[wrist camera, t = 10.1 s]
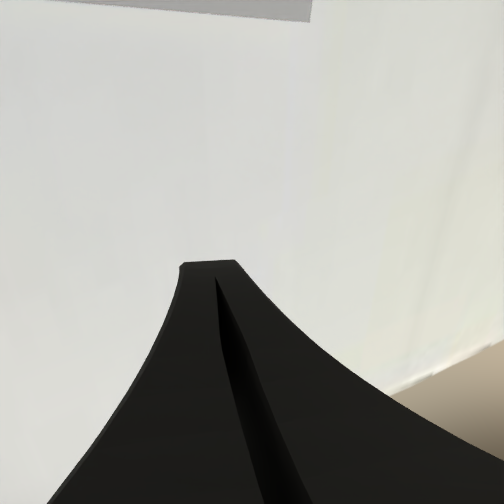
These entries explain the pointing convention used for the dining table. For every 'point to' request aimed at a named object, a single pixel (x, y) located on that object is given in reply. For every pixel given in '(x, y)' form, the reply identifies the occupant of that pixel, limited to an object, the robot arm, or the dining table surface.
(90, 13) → the dining table surface
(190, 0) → the octagonal ring on plate
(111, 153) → the dining table surface
